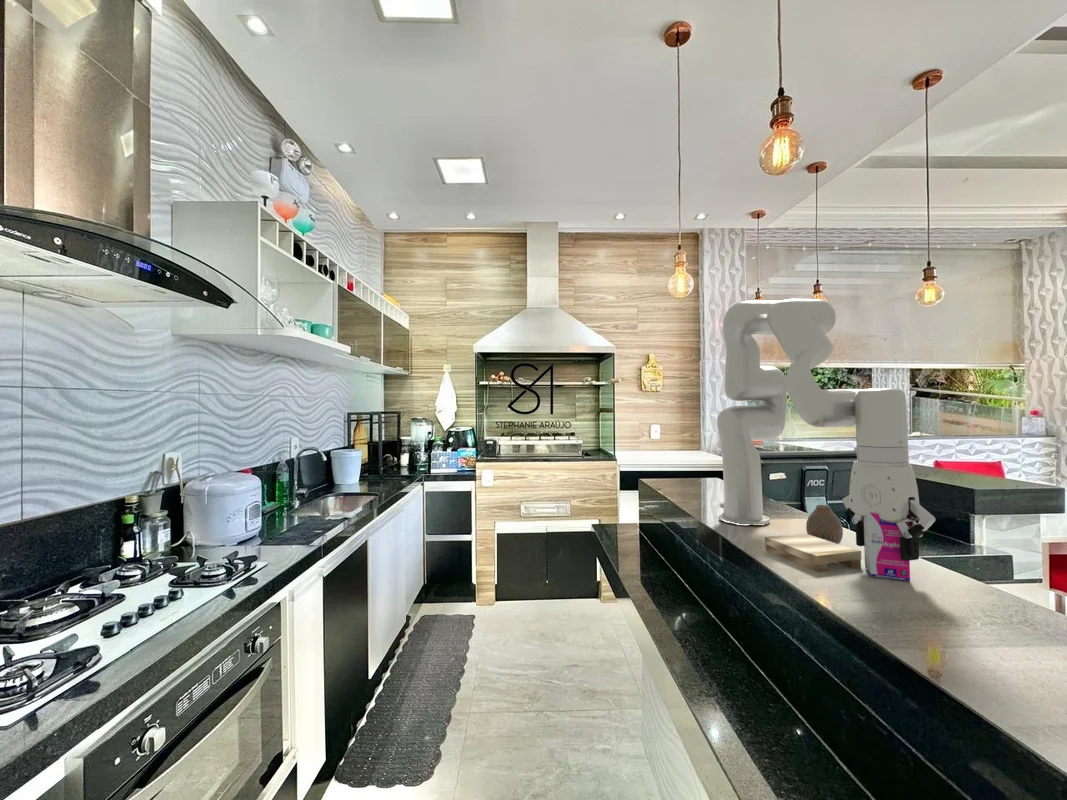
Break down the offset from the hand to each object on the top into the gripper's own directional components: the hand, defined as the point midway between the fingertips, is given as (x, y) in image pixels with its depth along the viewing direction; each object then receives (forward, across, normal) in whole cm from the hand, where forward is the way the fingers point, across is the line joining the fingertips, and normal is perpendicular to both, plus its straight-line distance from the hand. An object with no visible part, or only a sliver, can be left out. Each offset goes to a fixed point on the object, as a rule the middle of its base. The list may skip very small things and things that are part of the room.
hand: (886, 551), depth 83 cm
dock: (+4, -12, -6) cm, 14 cm away
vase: (+5, -18, +4) cm, 19 cm away
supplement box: (+4, 0, 0) cm, 4 cm away
